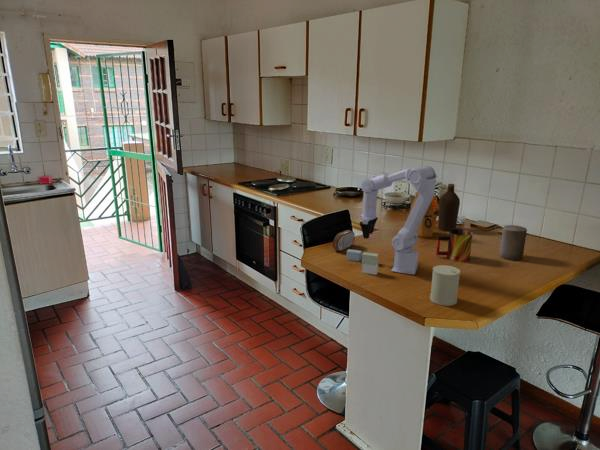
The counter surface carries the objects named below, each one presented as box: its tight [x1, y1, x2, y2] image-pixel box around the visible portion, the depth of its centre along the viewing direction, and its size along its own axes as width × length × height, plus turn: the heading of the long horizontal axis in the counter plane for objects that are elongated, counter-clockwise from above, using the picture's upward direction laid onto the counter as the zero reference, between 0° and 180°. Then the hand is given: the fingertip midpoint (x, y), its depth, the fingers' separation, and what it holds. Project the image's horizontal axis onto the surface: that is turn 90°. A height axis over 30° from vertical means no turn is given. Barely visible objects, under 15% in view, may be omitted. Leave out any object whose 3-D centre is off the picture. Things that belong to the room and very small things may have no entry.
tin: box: [332, 229, 356, 252], centre depth 205 cm, size 15×3×8 cm, turn 141°
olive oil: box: [437, 183, 461, 232], centre depth 235 cm, size 11×11×25 cm
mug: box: [435, 228, 473, 263], centre depth 193 cm, size 10×14×12 cm
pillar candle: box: [499, 224, 528, 261], centre depth 195 cm, size 10×10×15 cm
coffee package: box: [410, 191, 435, 239], centre depth 225 cm, size 10×12×22 cm
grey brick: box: [361, 263, 379, 276], centre depth 178 cm, size 6×3×4 cm, turn 68°
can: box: [429, 264, 461, 307], centre depth 153 cm, size 9×9×12 cm
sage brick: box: [361, 251, 379, 266], centre depth 177 cm, size 6×3×4 cm, turn 69°
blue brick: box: [345, 248, 363, 262], centre depth 192 cm, size 6×3×4 cm, turn 68°
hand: (368, 235), depth 192 cm, fingers open, 7 cm apart
